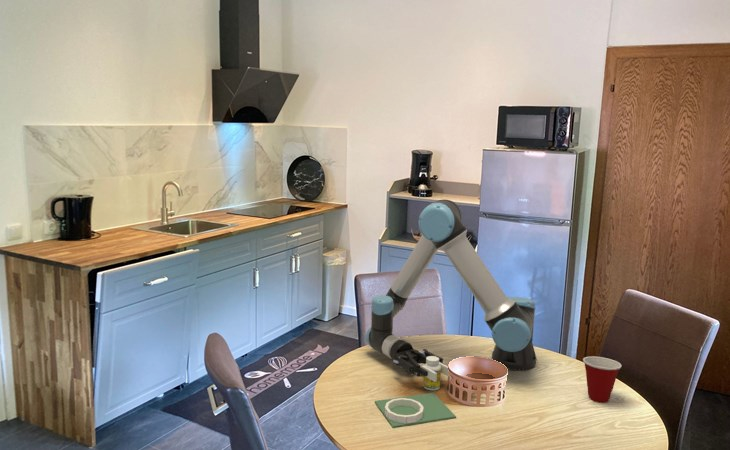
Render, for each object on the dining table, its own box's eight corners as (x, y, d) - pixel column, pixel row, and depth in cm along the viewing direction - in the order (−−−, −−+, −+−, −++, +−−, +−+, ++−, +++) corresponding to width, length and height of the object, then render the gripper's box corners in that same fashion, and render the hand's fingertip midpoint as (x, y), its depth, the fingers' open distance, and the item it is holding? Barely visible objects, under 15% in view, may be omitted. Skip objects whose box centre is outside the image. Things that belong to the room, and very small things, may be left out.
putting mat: (433, 394, 175) (433, 392, 175) (455, 417, 161) (456, 416, 161) (374, 402, 169) (374, 400, 169) (392, 427, 155) (392, 426, 155)
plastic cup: (618, 394, 177) (622, 357, 175) (617, 409, 167) (621, 371, 165) (581, 387, 181) (584, 351, 179) (578, 401, 172) (581, 364, 170)
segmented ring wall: (414, 402, 168) (414, 396, 168) (429, 420, 158) (429, 413, 158) (380, 407, 165) (380, 401, 165) (393, 425, 155) (393, 418, 155)
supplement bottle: (432, 382, 183) (433, 353, 182) (443, 388, 179) (445, 359, 177) (419, 385, 180) (420, 357, 179) (430, 392, 176) (431, 363, 174)
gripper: (419, 354, 199) (465, 380, 180) (375, 366, 189) (419, 394, 170) (419, 334, 198) (466, 357, 179) (375, 344, 188) (420, 370, 169)
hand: (443, 375), depth 174 cm, fingers closed on supplement bottle, 5 cm apart
